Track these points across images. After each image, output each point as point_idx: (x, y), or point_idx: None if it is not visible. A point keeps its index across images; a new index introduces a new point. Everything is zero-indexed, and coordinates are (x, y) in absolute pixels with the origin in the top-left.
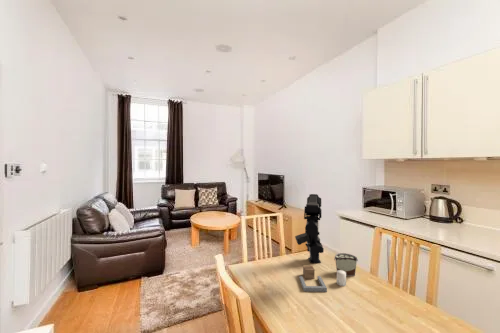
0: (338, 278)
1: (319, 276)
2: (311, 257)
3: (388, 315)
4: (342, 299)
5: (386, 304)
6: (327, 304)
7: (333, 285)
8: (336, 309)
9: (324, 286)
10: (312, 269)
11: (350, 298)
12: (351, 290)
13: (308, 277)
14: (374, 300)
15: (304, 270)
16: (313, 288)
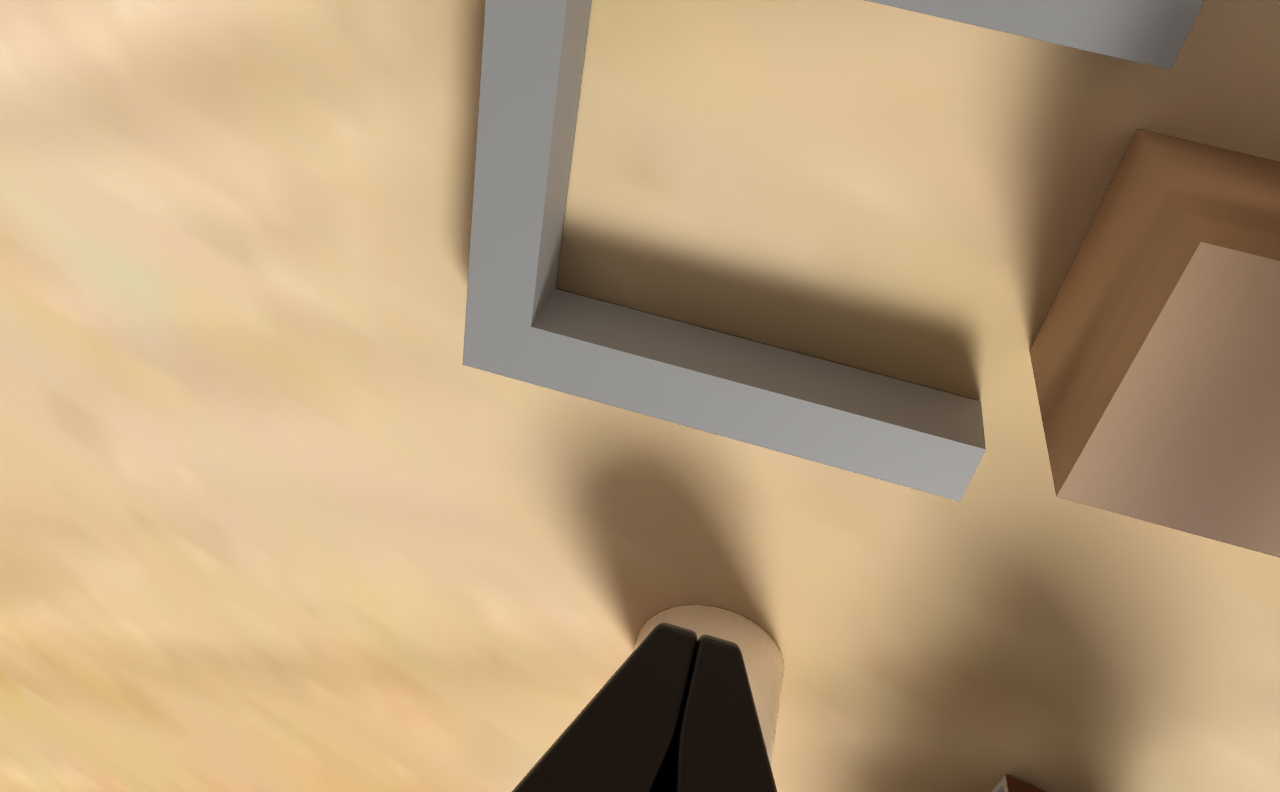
0: None
1: (949, 476)
2: (578, 721)
3: (52, 649)
4: (279, 425)
5: (235, 754)
6: (108, 125)
7: (682, 535)
8: (9, 198)
9: (521, 352)
10: (1096, 460)
11: (314, 532)
12: (511, 658)
13: (1100, 236)
14: (295, 718)
15: (1265, 232)
16: (487, 88)
